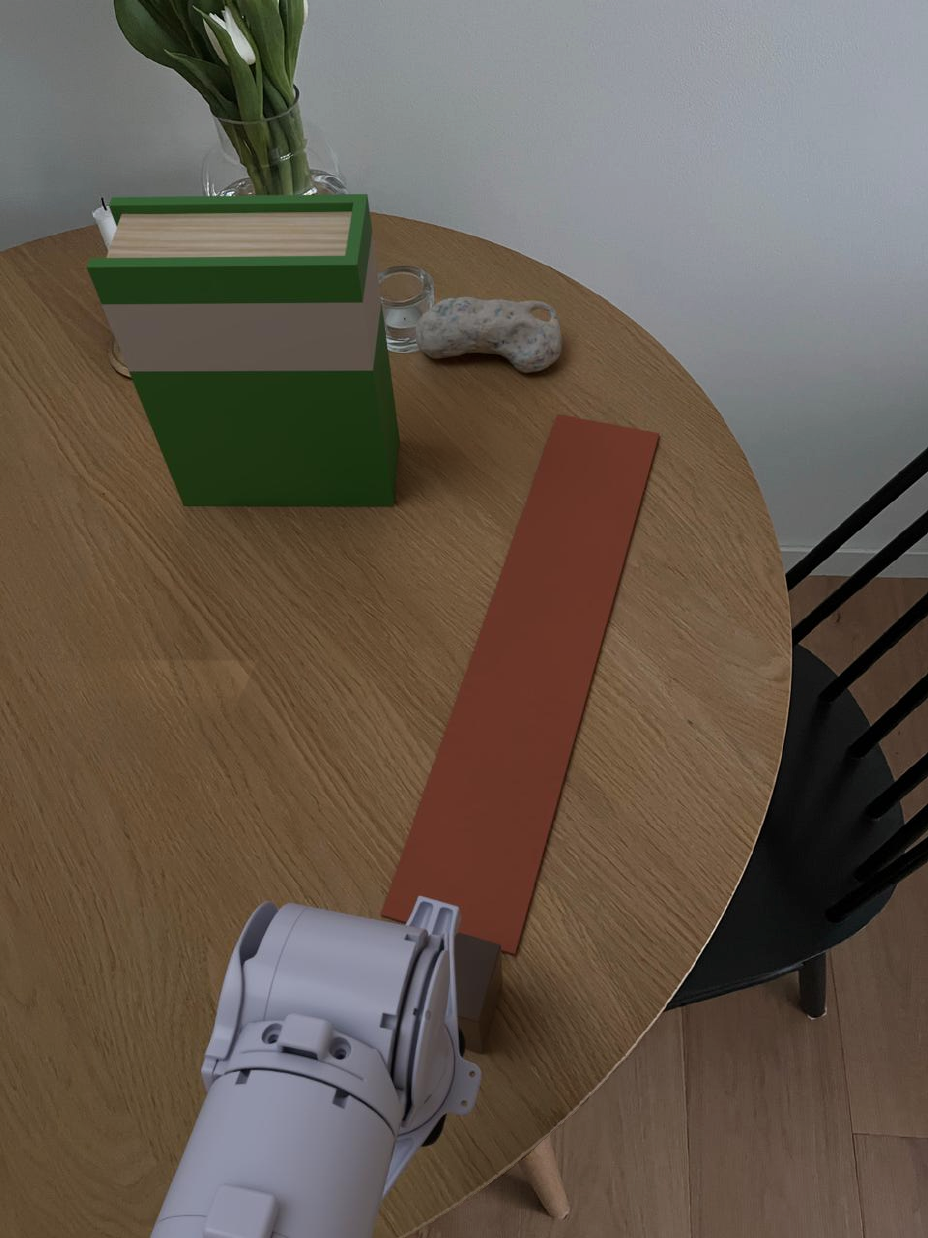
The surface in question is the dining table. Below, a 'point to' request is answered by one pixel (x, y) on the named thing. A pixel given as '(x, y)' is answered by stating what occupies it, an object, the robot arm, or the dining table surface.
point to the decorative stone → (491, 331)
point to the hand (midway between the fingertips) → (409, 1087)
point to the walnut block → (476, 987)
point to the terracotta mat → (526, 686)
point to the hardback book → (256, 345)
